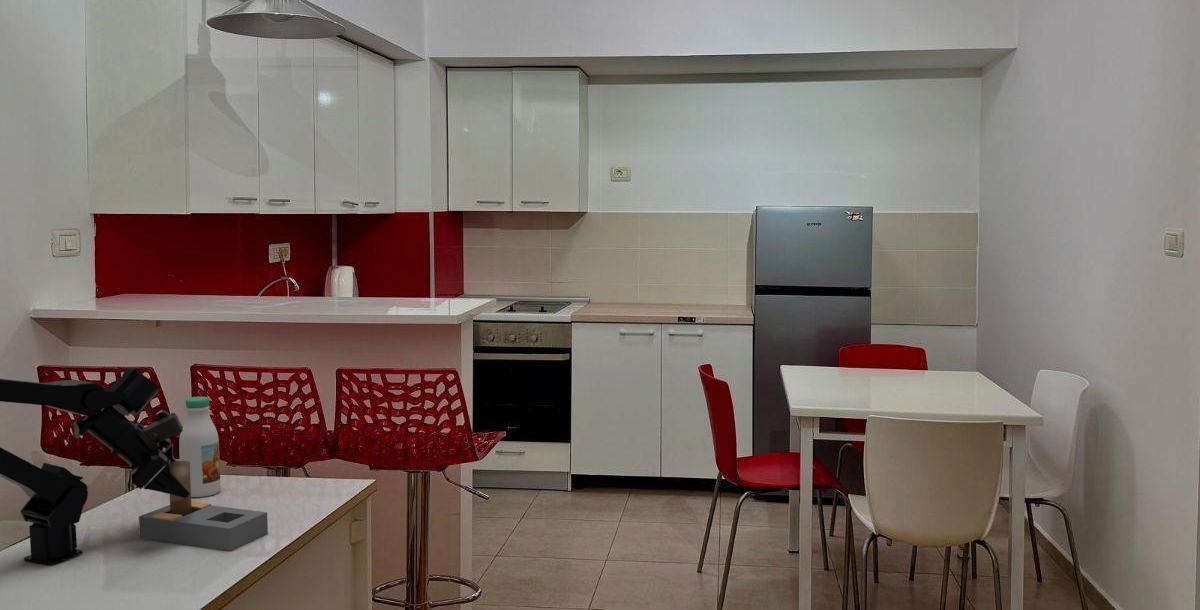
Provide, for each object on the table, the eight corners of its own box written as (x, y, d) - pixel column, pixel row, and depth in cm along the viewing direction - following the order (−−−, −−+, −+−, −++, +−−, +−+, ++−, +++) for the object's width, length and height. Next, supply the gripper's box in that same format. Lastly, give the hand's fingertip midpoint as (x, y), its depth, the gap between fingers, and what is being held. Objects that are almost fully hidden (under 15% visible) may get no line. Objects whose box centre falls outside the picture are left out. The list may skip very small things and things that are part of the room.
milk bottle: (188, 500, 208) (185, 403, 206) (175, 492, 213) (171, 397, 211) (226, 493, 213) (223, 398, 211) (212, 485, 218) (209, 393, 216)
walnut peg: (182, 537, 185) (179, 466, 184) (166, 534, 186) (163, 464, 185) (196, 531, 188) (194, 461, 187) (181, 528, 190) (178, 460, 188)
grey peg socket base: (267, 533, 187) (267, 510, 186) (230, 551, 178) (229, 527, 177) (180, 521, 194) (179, 499, 193) (139, 538, 184) (138, 514, 184)
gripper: (150, 410, 175) (221, 468, 180) (155, 391, 192) (220, 444, 197) (101, 459, 173) (174, 516, 178) (111, 436, 190) (177, 488, 195)
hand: (188, 489), depth 187 cm, fingers open, 9 cm apart
